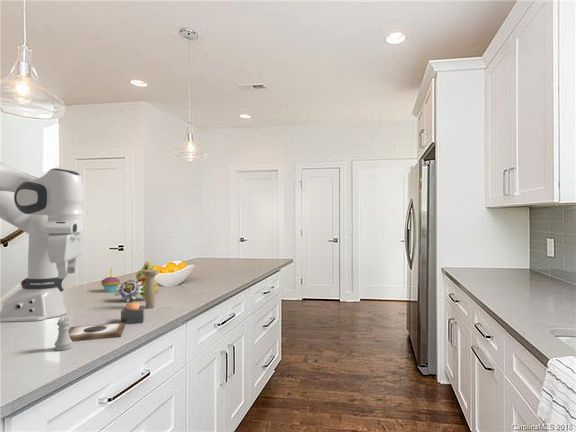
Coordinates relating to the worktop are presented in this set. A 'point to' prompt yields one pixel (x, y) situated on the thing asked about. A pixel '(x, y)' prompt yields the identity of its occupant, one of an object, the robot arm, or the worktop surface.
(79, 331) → the board
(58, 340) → the rook chess piece
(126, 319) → the button housing
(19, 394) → the worktop surface
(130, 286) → the passion flower
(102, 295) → the worktop surface
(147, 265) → the yellow green figurine
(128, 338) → the worktop surface
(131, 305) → the button
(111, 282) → the cupcake
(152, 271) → the handle
